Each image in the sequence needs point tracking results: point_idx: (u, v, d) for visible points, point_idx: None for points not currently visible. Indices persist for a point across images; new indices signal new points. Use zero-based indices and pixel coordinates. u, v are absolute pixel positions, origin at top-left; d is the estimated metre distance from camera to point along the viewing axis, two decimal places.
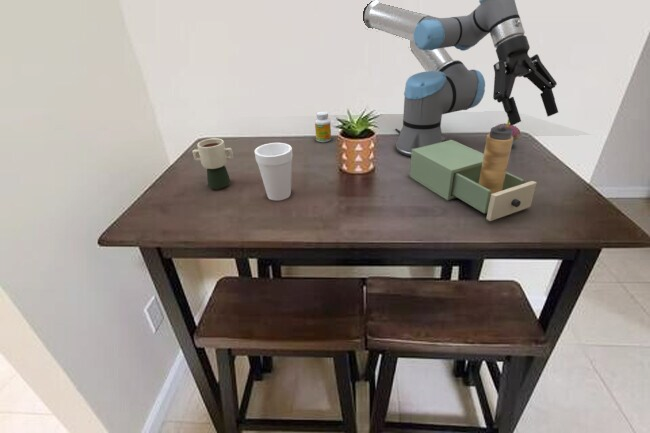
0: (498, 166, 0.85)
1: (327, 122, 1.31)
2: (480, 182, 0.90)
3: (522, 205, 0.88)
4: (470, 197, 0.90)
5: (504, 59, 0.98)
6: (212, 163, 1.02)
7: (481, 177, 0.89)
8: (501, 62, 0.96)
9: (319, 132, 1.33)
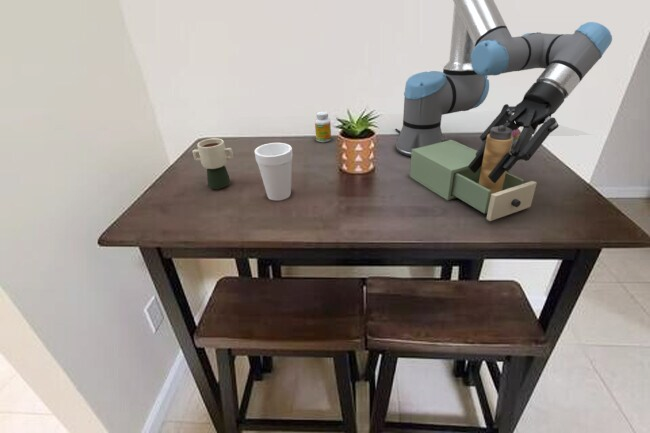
0: None
1: (327, 122, 1.31)
2: (480, 182, 0.90)
3: (522, 205, 0.88)
4: (470, 197, 0.90)
5: (551, 111, 0.82)
6: (212, 163, 1.02)
7: (481, 177, 0.89)
8: None
9: (319, 132, 1.33)
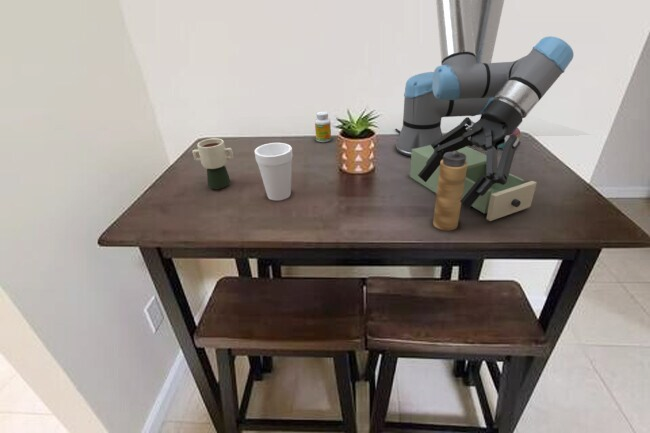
0: (452, 194, 0.80)
1: (327, 122, 1.31)
2: (435, 209, 0.84)
3: (522, 205, 0.88)
4: None
5: (508, 131, 0.76)
6: (212, 163, 1.02)
7: (436, 204, 0.84)
8: None
9: (319, 132, 1.33)
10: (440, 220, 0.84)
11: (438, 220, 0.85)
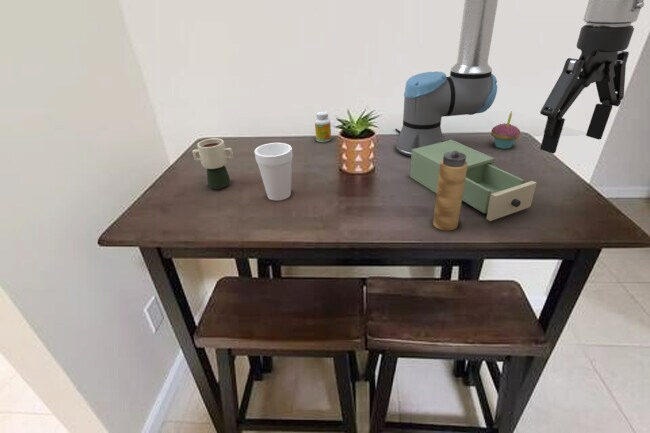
0: (452, 194, 0.80)
1: (327, 122, 1.31)
2: (435, 209, 0.84)
3: (522, 205, 0.88)
4: (470, 197, 0.90)
5: (585, 54, 0.65)
6: (212, 163, 1.02)
7: (436, 204, 0.84)
8: (579, 64, 0.64)
9: (319, 132, 1.33)
10: (440, 220, 0.84)
11: (438, 220, 0.85)
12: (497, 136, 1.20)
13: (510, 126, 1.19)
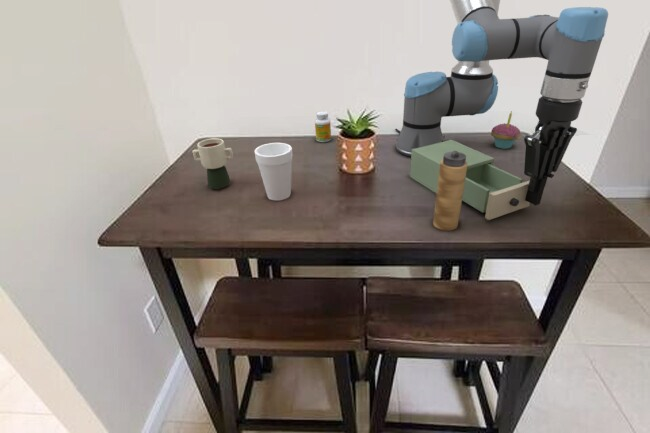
0: (452, 194, 0.80)
1: (327, 122, 1.31)
2: (435, 209, 0.84)
3: (520, 204, 0.88)
4: (469, 196, 0.90)
5: (541, 122, 0.76)
6: (212, 163, 1.02)
7: (436, 204, 0.84)
8: (535, 143, 0.76)
9: (319, 132, 1.33)
10: (440, 220, 0.84)
11: (438, 220, 0.85)
12: (497, 136, 1.20)
13: (510, 126, 1.19)
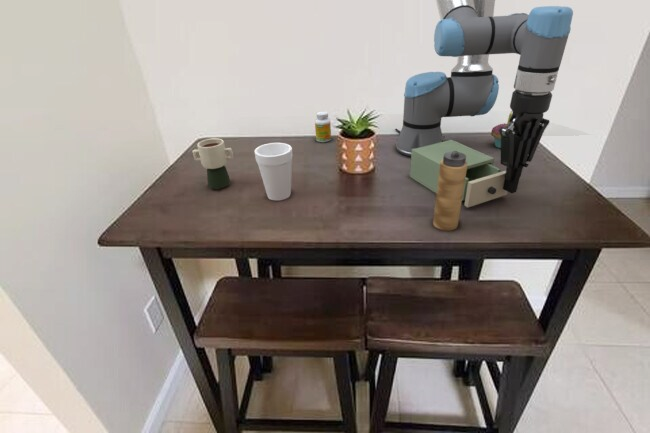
0: (452, 194, 0.80)
1: (327, 122, 1.31)
2: (435, 209, 0.84)
3: (498, 193, 0.93)
4: None
5: (515, 114, 0.81)
6: (212, 163, 1.02)
7: (436, 204, 0.84)
8: (509, 134, 0.81)
9: (319, 132, 1.33)
10: (440, 220, 0.84)
11: (438, 220, 0.85)
12: (497, 136, 1.20)
13: None
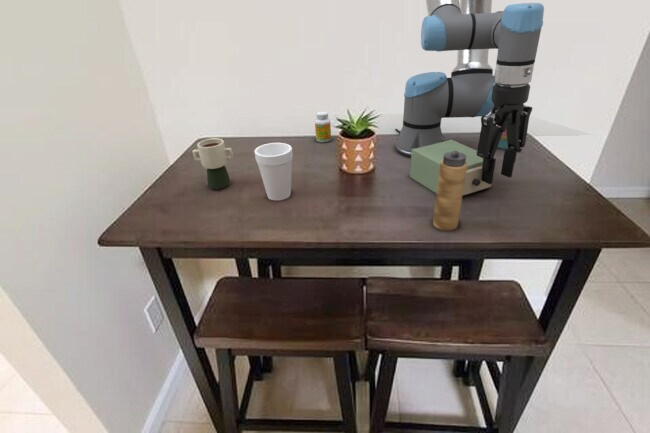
0: (452, 194, 0.80)
1: (327, 122, 1.31)
2: (435, 209, 0.84)
3: (483, 184, 0.97)
4: None
5: (496, 106, 0.85)
6: (212, 163, 1.02)
7: (436, 204, 0.84)
8: (490, 121, 0.84)
9: (319, 132, 1.33)
10: (440, 220, 0.84)
11: (438, 220, 0.85)
12: None
13: None
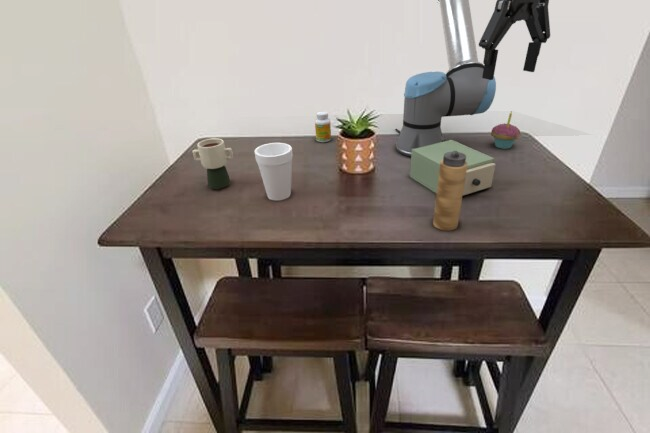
0: (452, 194, 0.80)
1: (327, 122, 1.31)
2: (435, 209, 0.84)
3: (483, 184, 0.97)
4: None
5: None
6: (212, 163, 1.02)
7: (436, 204, 0.84)
8: (505, 3, 0.82)
9: (319, 132, 1.33)
10: (440, 220, 0.84)
11: (438, 220, 0.85)
12: (497, 136, 1.20)
13: (510, 126, 1.19)
